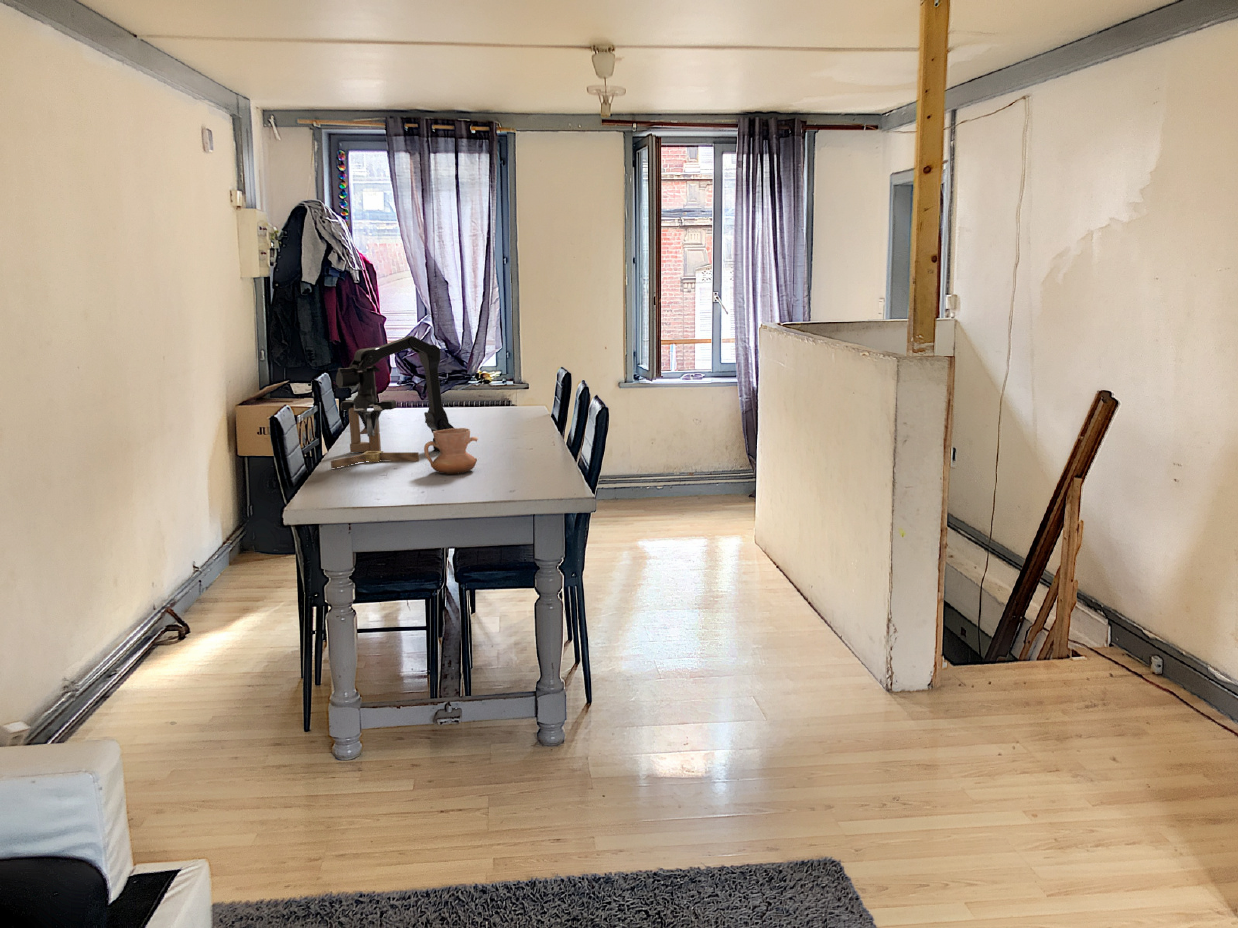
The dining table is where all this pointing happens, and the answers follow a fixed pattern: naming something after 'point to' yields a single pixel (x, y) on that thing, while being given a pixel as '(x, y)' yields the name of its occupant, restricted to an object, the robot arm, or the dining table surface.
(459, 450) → the ceramic jug
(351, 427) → the wooden block
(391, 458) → the tan piece
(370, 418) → the hinge pin
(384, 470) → the dining table surface
